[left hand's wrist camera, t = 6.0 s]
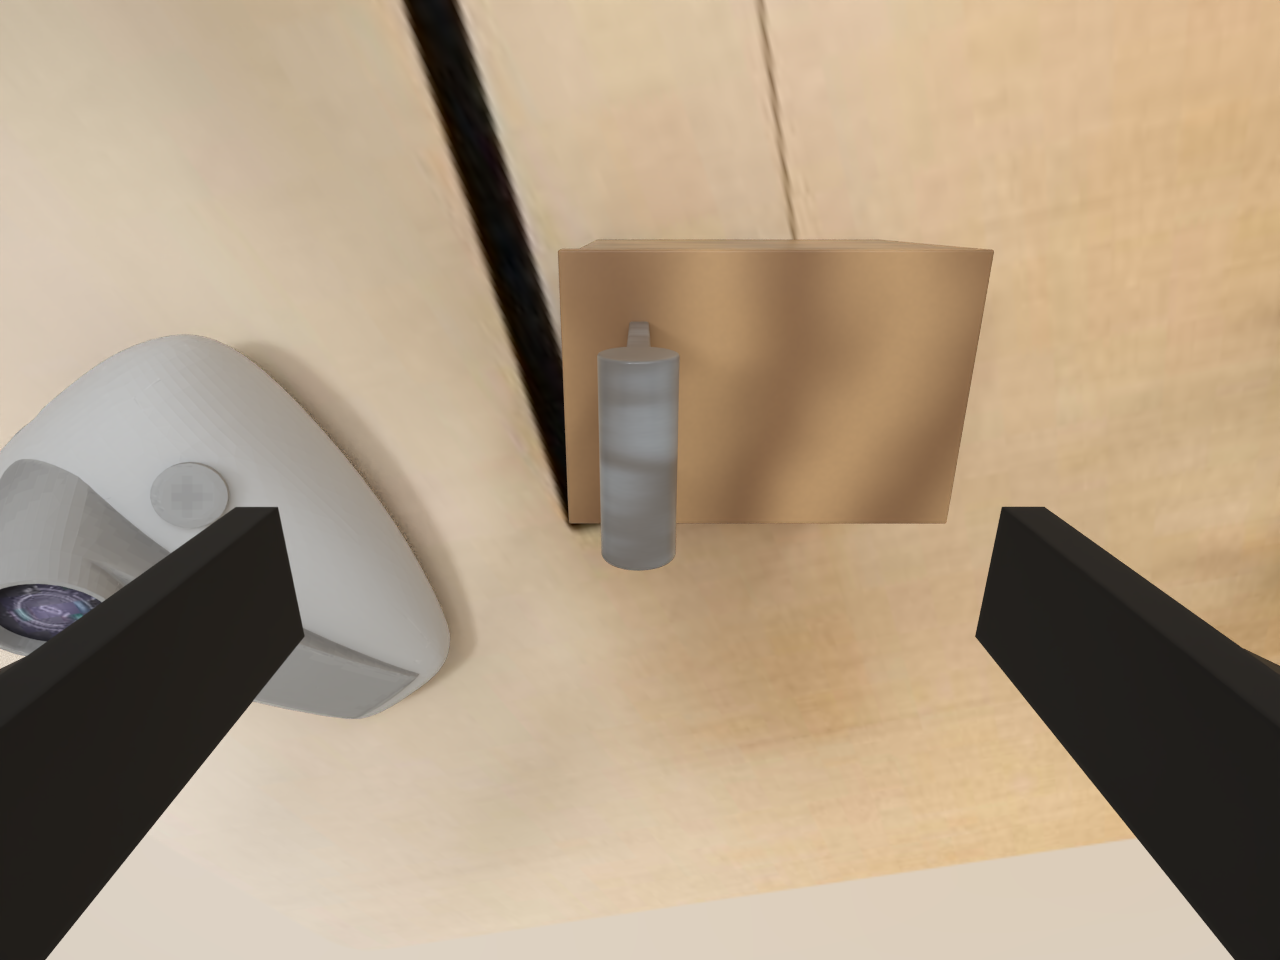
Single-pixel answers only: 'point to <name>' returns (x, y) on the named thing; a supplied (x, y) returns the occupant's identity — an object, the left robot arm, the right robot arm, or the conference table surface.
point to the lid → (763, 387)
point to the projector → (211, 518)
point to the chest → (760, 244)
